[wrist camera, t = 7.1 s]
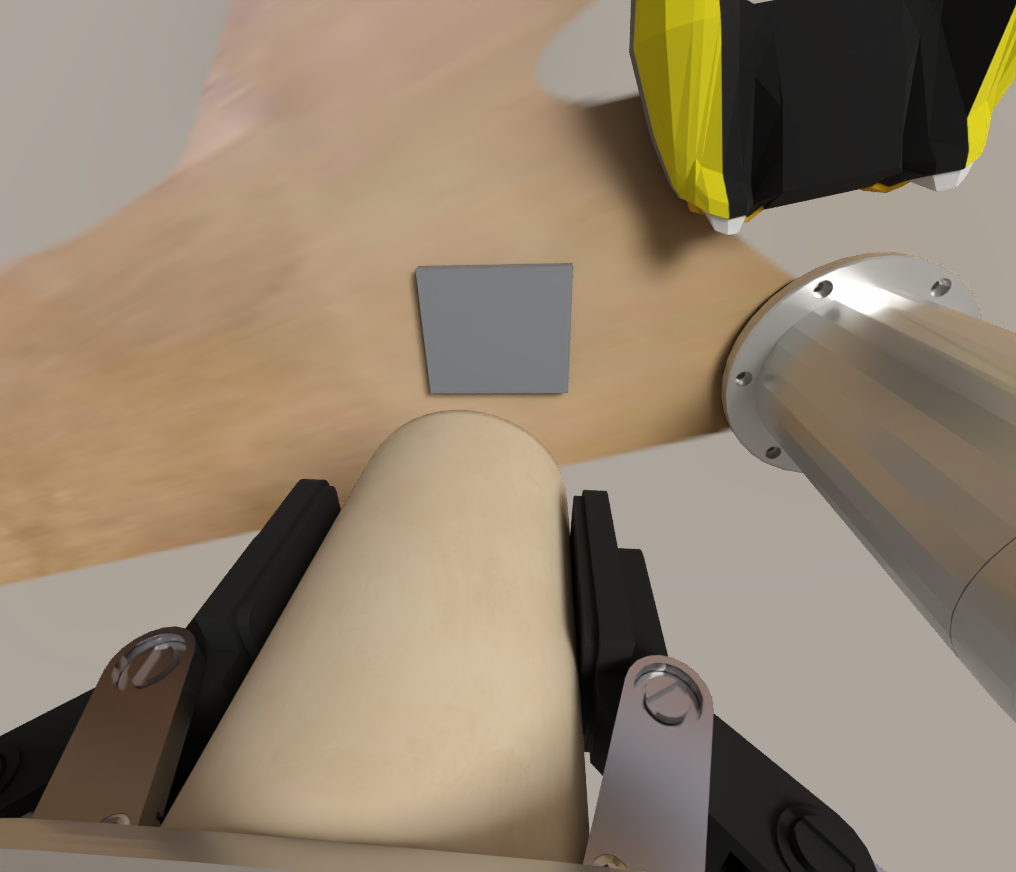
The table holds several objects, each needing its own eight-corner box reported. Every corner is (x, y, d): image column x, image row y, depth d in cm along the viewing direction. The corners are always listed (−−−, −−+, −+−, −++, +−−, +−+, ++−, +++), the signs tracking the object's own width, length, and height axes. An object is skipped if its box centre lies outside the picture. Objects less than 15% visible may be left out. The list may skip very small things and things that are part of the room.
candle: (328, 483, 13) (-66, 1088, 5) (467, 363, 11) (206, 1072, 3) (466, 591, 15) (365, 1162, 7) (607, 505, 13) (730, 1190, 4)
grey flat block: (571, 263, 24) (572, 266, 24) (567, 387, 28) (567, 393, 27) (418, 266, 25) (415, 269, 24) (433, 387, 28) (430, 393, 28)
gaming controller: (612, -25, 19) (633, 238, 24) (638, -85, 14) (656, 259, 19) (1044, -154, 17) (968, 166, 21) (1247, -277, 12) (1090, 170, 17)
